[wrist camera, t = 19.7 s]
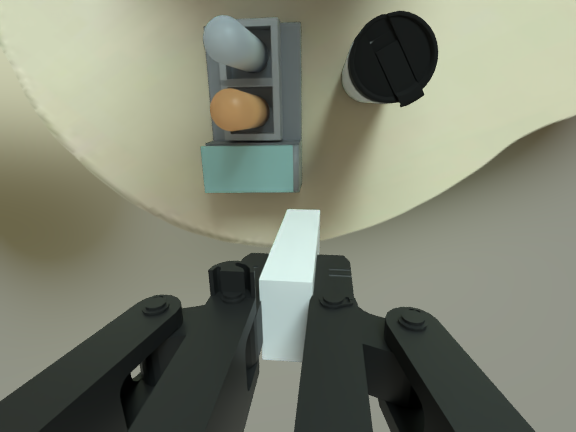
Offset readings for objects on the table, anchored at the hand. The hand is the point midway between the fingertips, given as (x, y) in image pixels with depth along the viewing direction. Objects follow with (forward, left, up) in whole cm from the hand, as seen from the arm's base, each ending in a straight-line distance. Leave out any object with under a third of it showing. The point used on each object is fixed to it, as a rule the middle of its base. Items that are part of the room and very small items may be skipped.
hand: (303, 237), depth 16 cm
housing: (-5, -9, -32) cm, 34 cm away
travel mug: (-9, +5, -33) cm, 34 cm away
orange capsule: (-5, -9, -31) cm, 33 cm away
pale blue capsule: (-11, -9, -32) cm, 35 cm away
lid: (+2, -9, -27) cm, 29 cm away
